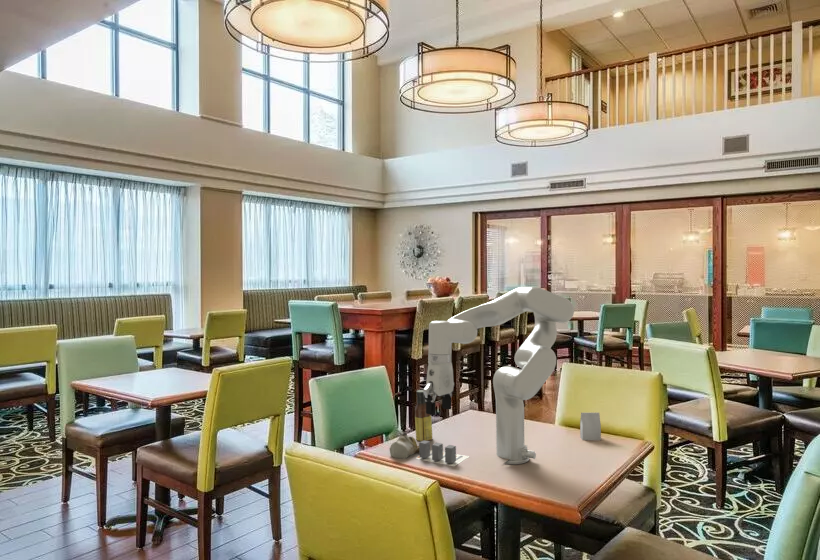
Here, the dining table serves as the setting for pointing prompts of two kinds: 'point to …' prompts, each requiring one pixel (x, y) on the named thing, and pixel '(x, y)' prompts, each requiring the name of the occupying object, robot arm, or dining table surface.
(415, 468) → the dining table surface
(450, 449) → the slider
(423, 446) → the slider
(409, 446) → the ceramic sculpture
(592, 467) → the dining table surface
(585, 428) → the grey upright block
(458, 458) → the switch panel
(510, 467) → the dining table surface
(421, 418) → the sauce bottle
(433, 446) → the slider
